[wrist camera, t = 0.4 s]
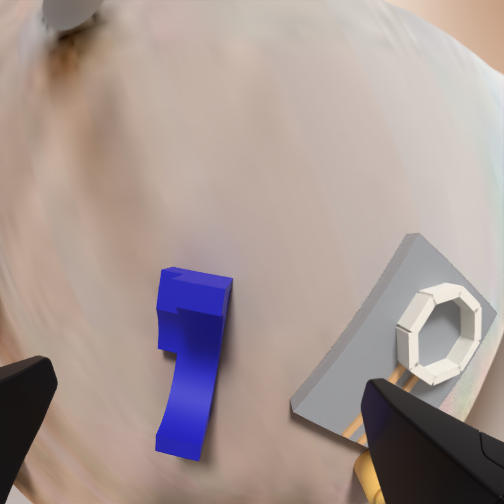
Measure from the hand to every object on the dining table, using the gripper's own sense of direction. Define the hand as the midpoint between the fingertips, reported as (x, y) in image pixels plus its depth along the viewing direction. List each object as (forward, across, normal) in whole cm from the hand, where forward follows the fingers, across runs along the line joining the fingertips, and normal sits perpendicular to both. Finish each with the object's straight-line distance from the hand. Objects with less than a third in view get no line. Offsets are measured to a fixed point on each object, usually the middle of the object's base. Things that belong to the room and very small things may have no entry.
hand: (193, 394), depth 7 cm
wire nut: (+11, -13, +19) cm, 26 cm away
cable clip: (+14, +3, +7) cm, 16 cm away
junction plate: (+14, -14, +8) cm, 21 cm away
